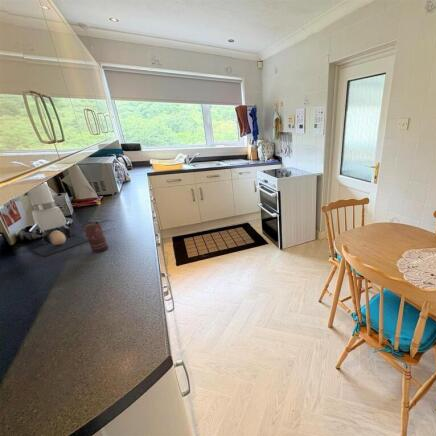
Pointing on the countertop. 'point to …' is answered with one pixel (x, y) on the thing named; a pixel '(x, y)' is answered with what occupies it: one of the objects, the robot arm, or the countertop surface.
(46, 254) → the placemat
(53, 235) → the egg
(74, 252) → the countertop surface
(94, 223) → the can
